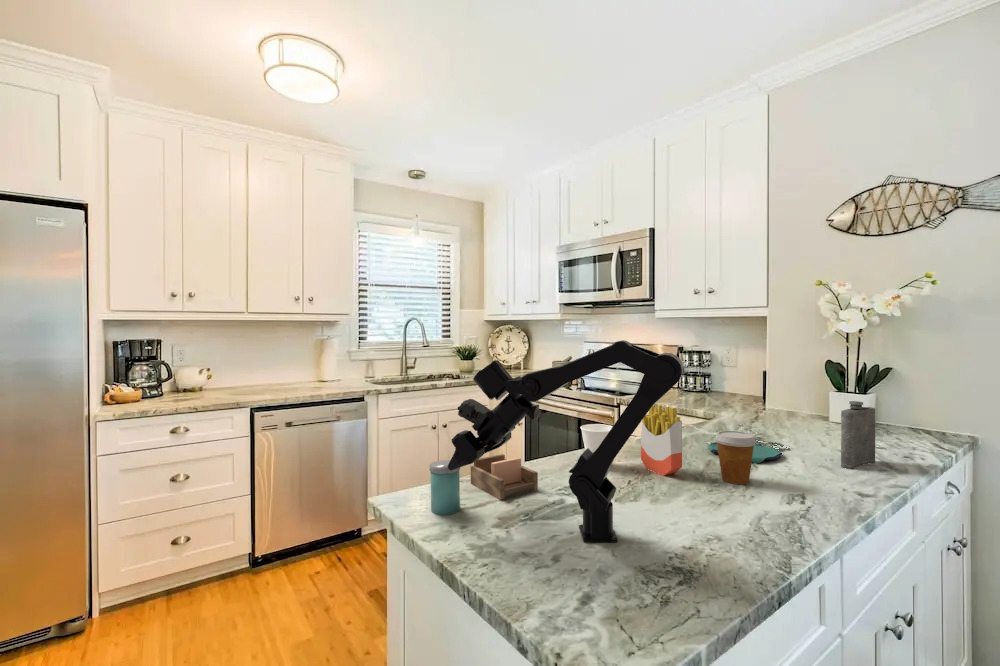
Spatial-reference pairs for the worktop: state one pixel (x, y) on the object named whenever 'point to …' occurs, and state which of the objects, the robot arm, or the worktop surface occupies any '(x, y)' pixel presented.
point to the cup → (594, 435)
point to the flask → (857, 435)
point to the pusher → (507, 470)
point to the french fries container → (662, 440)
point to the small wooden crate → (495, 485)
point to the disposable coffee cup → (735, 455)
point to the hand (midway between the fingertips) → (459, 462)
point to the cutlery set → (758, 451)
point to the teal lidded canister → (444, 488)
